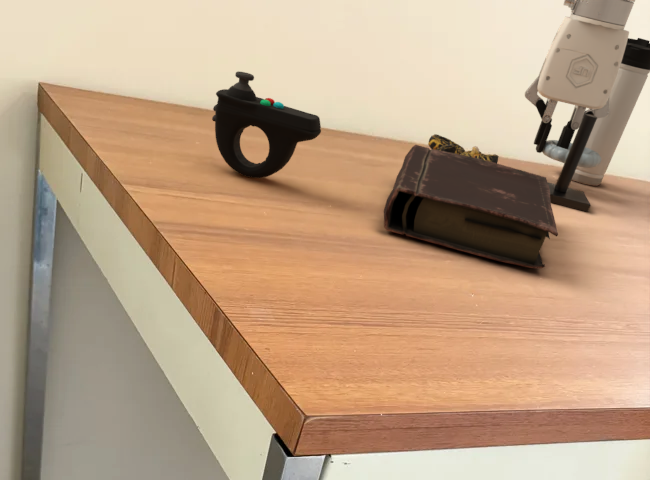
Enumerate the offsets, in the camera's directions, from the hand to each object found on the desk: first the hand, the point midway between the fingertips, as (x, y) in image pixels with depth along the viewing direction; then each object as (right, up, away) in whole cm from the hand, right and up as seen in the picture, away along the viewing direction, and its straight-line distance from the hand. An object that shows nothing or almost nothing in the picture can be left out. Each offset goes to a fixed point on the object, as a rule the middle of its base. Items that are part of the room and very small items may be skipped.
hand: (548, 152), depth 125 cm
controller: (-45, -17, -29) cm, 56 cm away
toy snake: (-15, -4, -3) cm, 16 cm away
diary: (-20, -22, -27) cm, 40 cm away
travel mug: (+9, 0, +9) cm, 13 cm away
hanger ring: (+3, 0, -1) cm, 3 cm away
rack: (-1, -9, -6) cm, 11 cm away
